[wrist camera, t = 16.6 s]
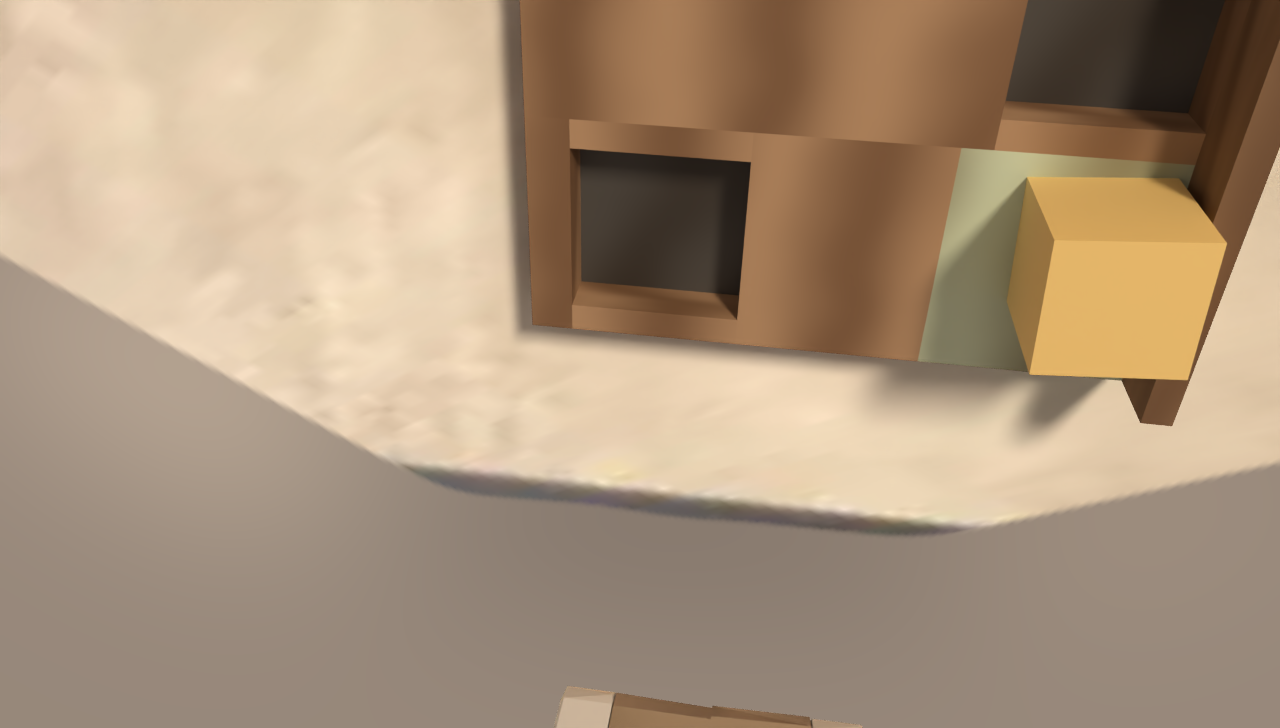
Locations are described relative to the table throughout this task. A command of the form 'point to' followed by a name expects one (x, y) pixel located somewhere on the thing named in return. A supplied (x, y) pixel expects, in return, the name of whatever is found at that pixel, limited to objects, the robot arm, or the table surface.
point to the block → (1112, 277)
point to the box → (867, 159)
